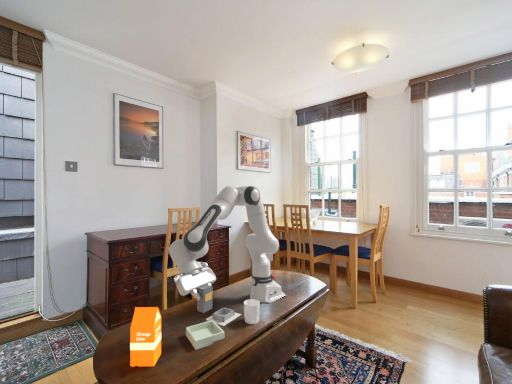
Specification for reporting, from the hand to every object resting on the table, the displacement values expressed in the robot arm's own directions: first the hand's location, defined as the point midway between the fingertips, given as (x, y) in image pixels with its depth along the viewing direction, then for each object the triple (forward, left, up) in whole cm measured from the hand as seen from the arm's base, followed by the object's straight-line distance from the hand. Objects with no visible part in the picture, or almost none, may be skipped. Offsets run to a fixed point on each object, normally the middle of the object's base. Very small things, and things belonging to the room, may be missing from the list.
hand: (206, 296), depth 113 cm
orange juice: (+25, +2, -18) cm, 31 cm away
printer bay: (-14, -12, -18) cm, 26 cm away
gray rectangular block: (0, -1, -6) cm, 6 cm away
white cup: (-24, -1, -18) cm, 31 cm away
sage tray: (0, -1, -18) cm, 18 cm away
